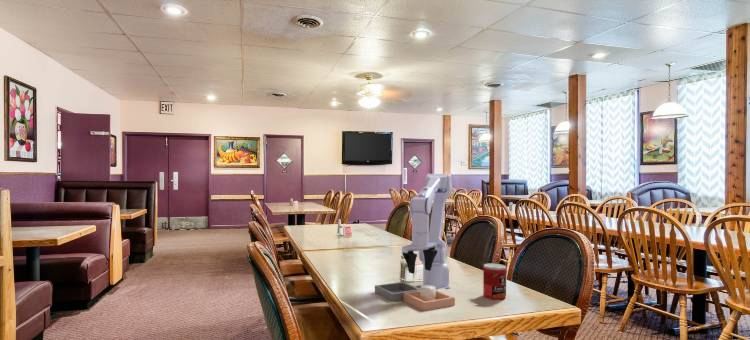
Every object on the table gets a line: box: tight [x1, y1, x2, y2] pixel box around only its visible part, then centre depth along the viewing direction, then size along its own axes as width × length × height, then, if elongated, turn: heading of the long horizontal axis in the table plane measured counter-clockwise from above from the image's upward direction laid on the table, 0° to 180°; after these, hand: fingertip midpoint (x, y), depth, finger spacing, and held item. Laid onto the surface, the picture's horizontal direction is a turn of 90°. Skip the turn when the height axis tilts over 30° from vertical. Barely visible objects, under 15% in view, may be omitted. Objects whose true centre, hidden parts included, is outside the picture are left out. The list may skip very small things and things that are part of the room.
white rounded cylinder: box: [419, 285, 437, 301], centre depth 139 cm, size 5×5×5 cm
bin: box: [374, 281, 420, 303], centre depth 148 cm, size 12×12×3 cm
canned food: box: [482, 262, 507, 301], centre depth 149 cm, size 8×8×11 cm
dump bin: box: [402, 289, 456, 312], centre depth 139 cm, size 12×12×3 cm
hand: (419, 271), depth 145 cm, fingers open, 7 cm apart
